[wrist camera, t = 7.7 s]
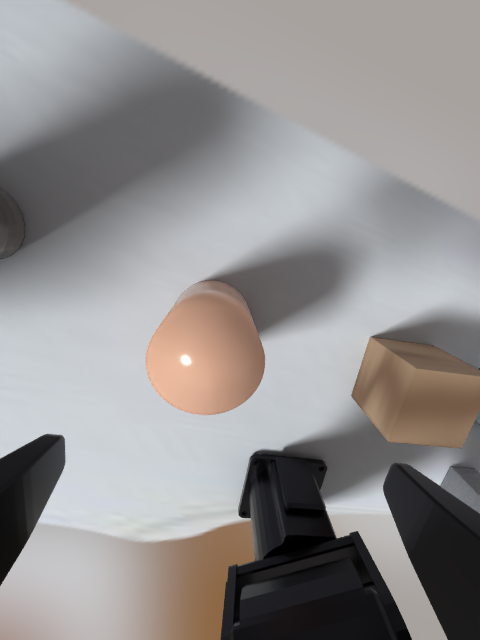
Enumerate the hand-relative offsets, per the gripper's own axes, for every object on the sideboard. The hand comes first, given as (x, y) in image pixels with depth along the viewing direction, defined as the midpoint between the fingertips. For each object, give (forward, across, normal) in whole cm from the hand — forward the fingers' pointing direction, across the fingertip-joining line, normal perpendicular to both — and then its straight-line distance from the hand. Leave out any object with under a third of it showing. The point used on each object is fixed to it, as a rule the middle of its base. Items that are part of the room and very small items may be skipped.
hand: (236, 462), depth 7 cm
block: (+12, -13, +2) cm, 18 cm away
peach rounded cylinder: (+12, +1, 0) cm, 12 cm away
